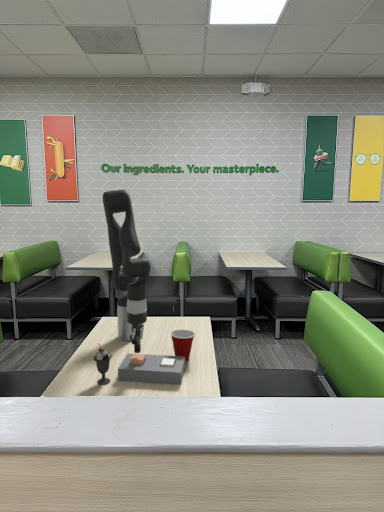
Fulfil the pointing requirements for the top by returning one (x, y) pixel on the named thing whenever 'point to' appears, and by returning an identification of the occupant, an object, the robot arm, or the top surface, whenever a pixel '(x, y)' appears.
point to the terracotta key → (137, 359)
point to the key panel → (152, 370)
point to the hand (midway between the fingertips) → (137, 352)
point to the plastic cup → (182, 342)
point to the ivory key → (168, 362)
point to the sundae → (102, 365)
